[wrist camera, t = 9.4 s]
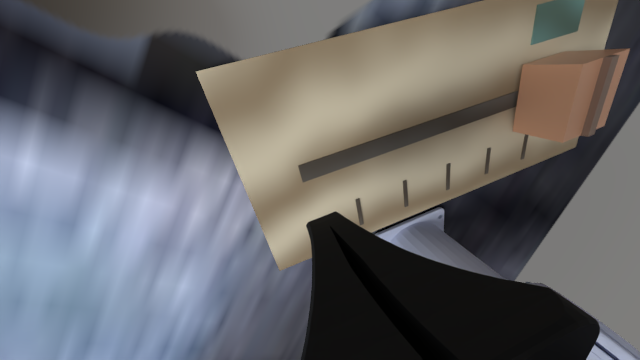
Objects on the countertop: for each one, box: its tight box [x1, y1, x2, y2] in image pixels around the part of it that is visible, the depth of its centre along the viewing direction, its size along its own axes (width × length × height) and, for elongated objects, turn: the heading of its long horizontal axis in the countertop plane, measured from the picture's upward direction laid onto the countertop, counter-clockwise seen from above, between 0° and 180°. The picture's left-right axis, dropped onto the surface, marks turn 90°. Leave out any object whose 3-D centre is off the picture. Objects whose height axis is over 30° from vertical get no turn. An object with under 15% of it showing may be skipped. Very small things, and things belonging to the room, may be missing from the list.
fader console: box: [196, 0, 618, 271], centre depth 19 cm, size 14×30×3 cm, turn 103°
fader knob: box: [513, 49, 630, 143], centre depth 18 cm, size 5×4×4 cm
